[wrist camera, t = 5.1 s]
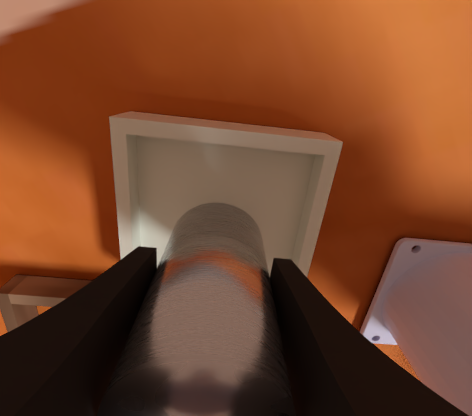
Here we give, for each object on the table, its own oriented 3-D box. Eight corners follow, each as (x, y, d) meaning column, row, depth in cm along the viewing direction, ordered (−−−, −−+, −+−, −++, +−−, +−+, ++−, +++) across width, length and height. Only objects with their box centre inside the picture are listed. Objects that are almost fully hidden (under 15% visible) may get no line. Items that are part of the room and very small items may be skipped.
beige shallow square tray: (325, 132, 13) (343, 142, 11) (289, 284, 17) (297, 313, 15) (130, 111, 13) (108, 116, 10) (138, 271, 16) (124, 300, 14)
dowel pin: (274, 214, 11) (327, 381, 5) (248, 288, 13) (263, 486, 6) (179, 192, 11) (103, 345, 4) (164, 271, 12) (92, 467, 6)
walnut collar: (148, 284, 17) (140, 304, 15) (151, 369, 20) (144, 392, 18) (16, 274, 16) (-6, 293, 15) (40, 362, 20) (25, 384, 18)
